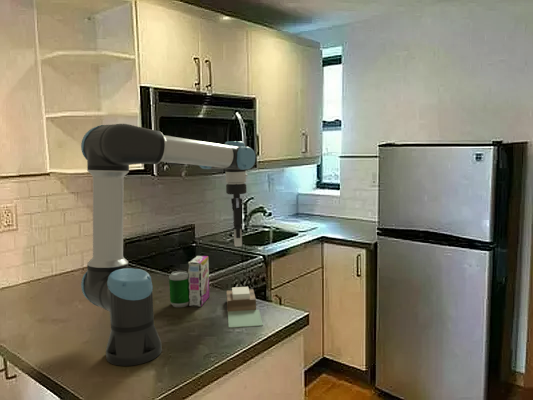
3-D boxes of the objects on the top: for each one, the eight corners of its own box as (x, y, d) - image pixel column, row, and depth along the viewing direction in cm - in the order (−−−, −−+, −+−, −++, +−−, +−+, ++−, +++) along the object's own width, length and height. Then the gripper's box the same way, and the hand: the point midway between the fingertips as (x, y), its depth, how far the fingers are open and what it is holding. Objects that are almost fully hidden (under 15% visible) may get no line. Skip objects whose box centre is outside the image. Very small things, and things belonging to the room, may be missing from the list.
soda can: (189, 307, 165) (187, 275, 164) (168, 308, 165) (166, 276, 164) (192, 300, 173) (191, 269, 171) (172, 301, 173) (171, 270, 171)
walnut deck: (256, 310, 161) (255, 299, 161) (227, 312, 160) (227, 301, 160) (253, 299, 173) (253, 289, 172) (226, 300, 172) (226, 290, 171)
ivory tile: (249, 299, 161) (249, 293, 161) (232, 300, 161) (232, 294, 161) (248, 291, 169) (248, 286, 169) (232, 292, 169) (231, 287, 168)
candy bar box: (202, 307, 166) (200, 262, 164) (188, 306, 167) (187, 262, 165) (210, 296, 177) (208, 255, 175) (198, 296, 178) (196, 255, 176)
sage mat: (262, 325, 147) (262, 324, 147) (228, 328, 146) (228, 327, 146) (258, 310, 161) (258, 309, 161) (227, 312, 160) (227, 311, 160)
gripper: (247, 184, 162) (249, 249, 165) (244, 181, 179) (246, 239, 182) (226, 185, 161) (228, 250, 164) (225, 181, 178) (227, 240, 181)
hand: (238, 244), depth 173 cm, fingers open, 4 cm apart
